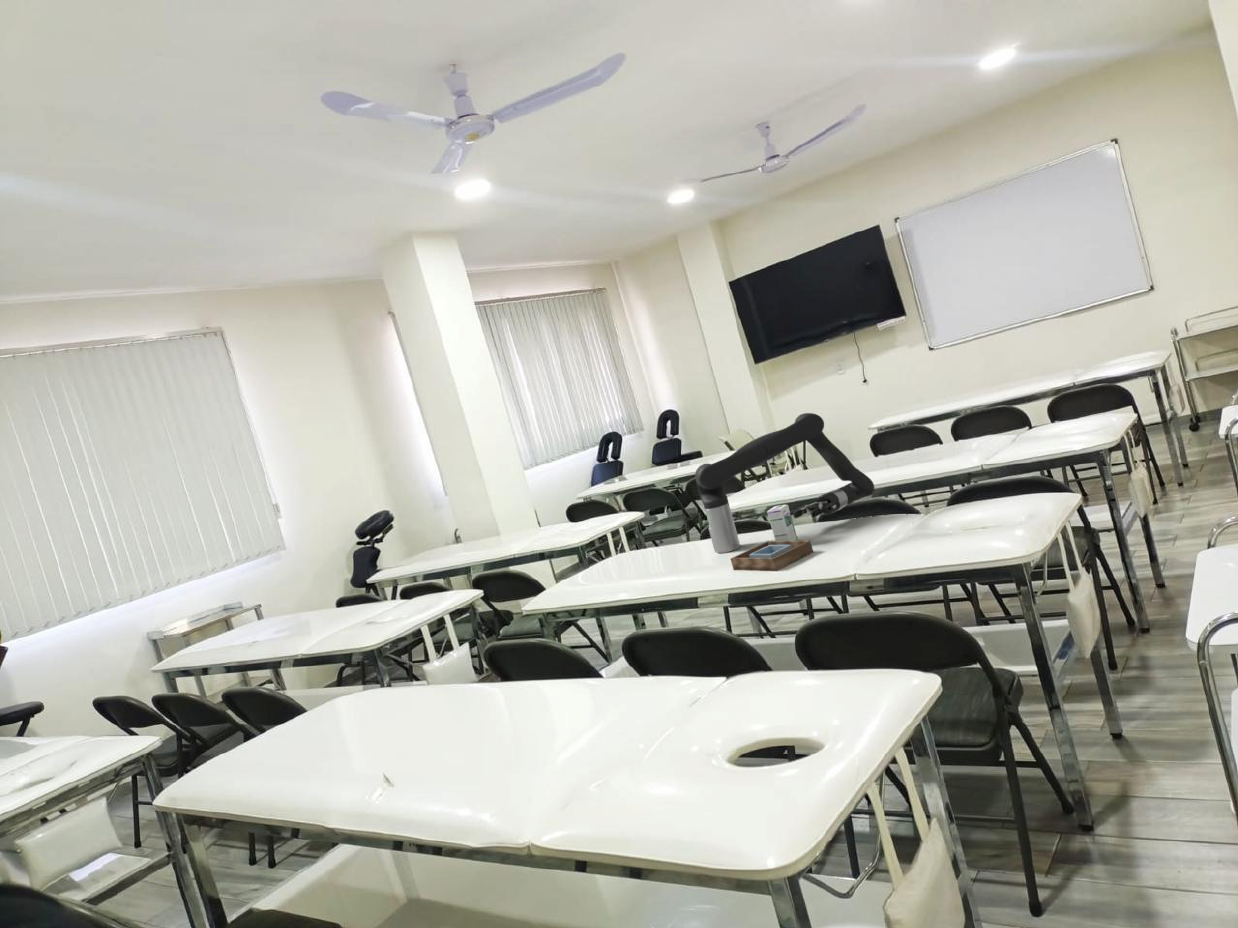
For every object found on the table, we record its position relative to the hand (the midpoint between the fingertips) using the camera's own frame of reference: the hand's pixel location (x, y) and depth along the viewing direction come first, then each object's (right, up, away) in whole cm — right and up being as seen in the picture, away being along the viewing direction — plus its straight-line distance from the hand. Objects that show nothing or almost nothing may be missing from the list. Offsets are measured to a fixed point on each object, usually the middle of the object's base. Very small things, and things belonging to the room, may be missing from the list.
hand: (803, 515), depth 290 cm
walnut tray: (-14, -14, -20) cm, 28 cm away
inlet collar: (-14, -14, -20) cm, 28 cm away
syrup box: (-6, -11, -5) cm, 14 cm away
